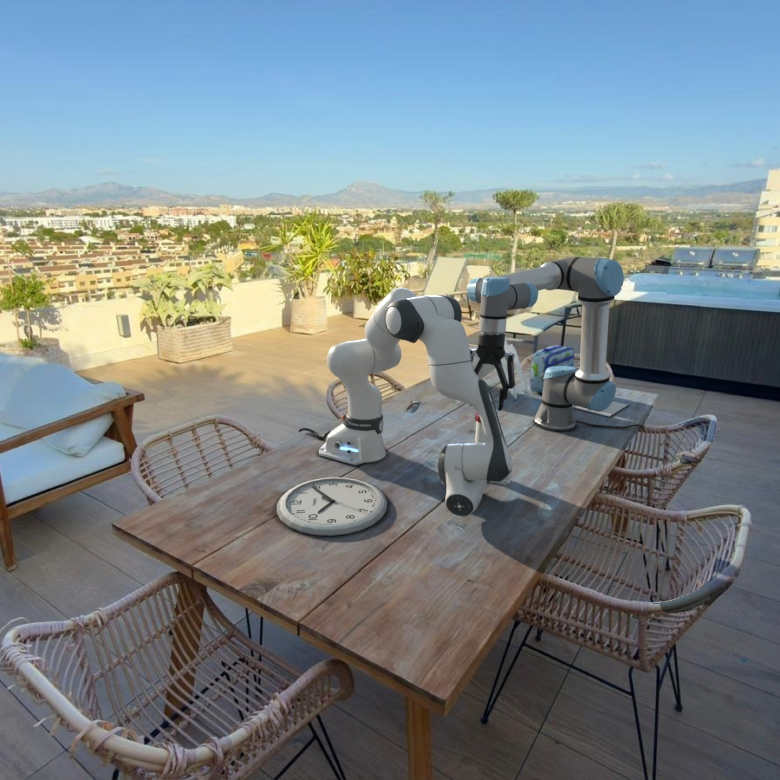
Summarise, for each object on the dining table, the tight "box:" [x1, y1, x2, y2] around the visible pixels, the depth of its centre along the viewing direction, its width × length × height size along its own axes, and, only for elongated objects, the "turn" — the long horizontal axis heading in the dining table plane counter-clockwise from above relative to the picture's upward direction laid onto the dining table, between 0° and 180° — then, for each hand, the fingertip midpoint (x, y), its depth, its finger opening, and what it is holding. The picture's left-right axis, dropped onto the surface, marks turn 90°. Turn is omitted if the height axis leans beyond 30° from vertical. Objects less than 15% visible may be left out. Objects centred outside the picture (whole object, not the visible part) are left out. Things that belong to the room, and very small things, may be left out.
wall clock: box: [276, 476, 388, 537], centre depth 142 cm, size 30×2×30 cm
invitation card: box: [573, 400, 629, 418], centre depth 226 cm, size 21×1×15 cm
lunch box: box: [529, 345, 575, 394], centre depth 245 cm, size 26×11×21 cm, turn 134°
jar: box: [474, 420, 487, 443], centre depth 160 cm, size 5×5×19 cm
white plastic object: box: [469, 336, 531, 400], centre depth 245 cm, size 37×45×31 cm
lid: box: [474, 411, 481, 423], centre depth 158 cm, size 6×6×2 cm
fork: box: [406, 394, 421, 411], centre depth 223 cm, size 3×16×2 cm, turn 160°
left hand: (480, 459), depth 158 cm, fingers open, 8 cm apart
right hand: (486, 407), depth 157 cm, fingers open, 8 cm apart
